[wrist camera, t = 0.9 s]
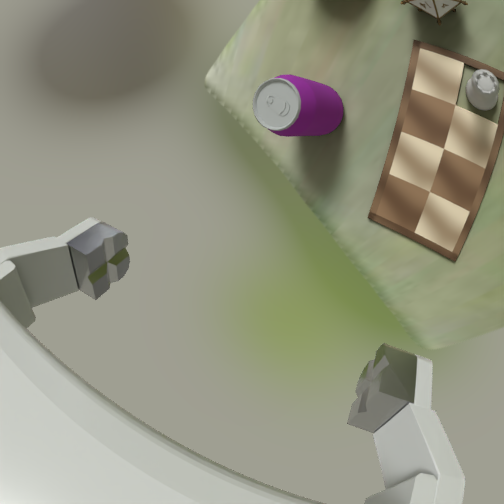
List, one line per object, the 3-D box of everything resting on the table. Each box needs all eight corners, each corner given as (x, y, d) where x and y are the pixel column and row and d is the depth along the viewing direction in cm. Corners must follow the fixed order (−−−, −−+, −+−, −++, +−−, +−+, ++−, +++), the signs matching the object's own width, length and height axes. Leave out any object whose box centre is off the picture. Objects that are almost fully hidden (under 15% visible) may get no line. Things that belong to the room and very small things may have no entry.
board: (414, 40, 29) (413, 39, 28) (514, 78, 22) (515, 78, 22) (368, 216, 42) (367, 217, 42) (455, 260, 35) (455, 261, 35)
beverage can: (289, 118, 44) (238, 117, 35) (311, 75, 39) (263, 61, 31) (330, 145, 42) (286, 149, 33) (355, 100, 37) (317, 89, 28)
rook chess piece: (467, 71, 26) (468, 56, 20) (499, 83, 24) (507, 70, 18) (463, 104, 28) (463, 95, 22) (494, 116, 26) (502, 110, 20)
